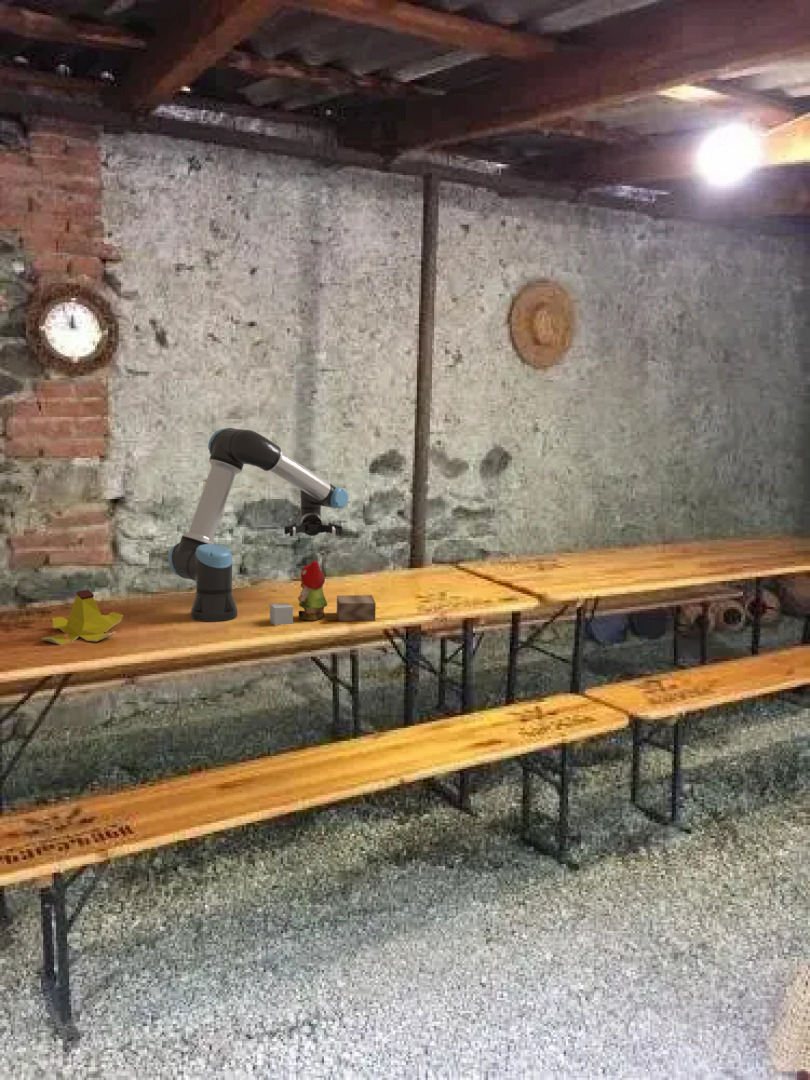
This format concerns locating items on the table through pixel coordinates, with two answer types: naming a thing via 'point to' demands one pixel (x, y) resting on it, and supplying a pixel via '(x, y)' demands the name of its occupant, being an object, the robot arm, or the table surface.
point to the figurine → (312, 593)
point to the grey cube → (281, 613)
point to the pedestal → (356, 608)
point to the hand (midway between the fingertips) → (314, 533)
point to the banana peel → (84, 621)
